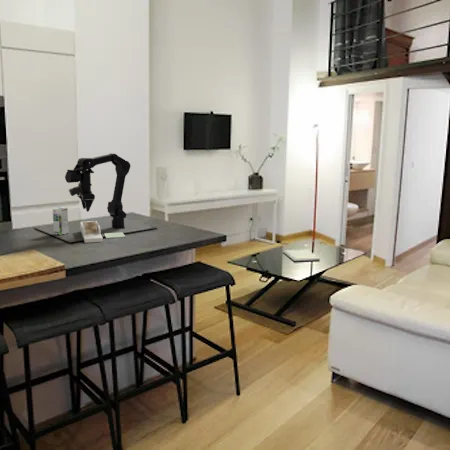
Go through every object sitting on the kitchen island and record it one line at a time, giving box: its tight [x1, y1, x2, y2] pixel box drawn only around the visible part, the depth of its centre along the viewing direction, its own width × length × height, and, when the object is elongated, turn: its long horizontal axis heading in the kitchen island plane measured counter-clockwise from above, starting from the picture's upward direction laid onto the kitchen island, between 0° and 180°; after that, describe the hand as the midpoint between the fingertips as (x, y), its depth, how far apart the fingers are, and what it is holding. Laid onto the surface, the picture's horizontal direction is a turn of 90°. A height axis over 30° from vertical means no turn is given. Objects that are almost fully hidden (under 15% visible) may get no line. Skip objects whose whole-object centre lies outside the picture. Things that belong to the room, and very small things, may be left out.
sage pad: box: [103, 231, 126, 240], centre depth 254 cm, size 10×10×1 cm
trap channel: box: [80, 220, 104, 244], centre depth 251 cm, size 9×27×6 cm, turn 21°
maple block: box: [84, 221, 96, 233], centre depth 252 cm, size 5×5×5 cm
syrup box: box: [52, 206, 69, 236], centre depth 254 cm, size 6×6×14 cm
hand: (85, 210), depth 255 cm, fingers open, 9 cm apart
